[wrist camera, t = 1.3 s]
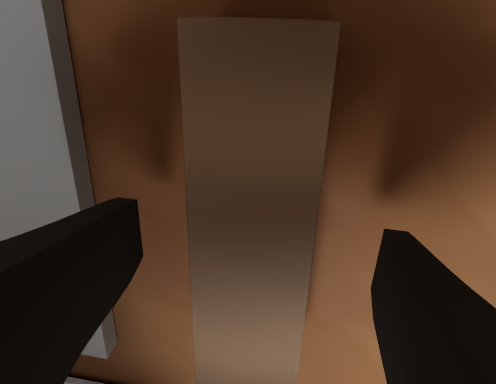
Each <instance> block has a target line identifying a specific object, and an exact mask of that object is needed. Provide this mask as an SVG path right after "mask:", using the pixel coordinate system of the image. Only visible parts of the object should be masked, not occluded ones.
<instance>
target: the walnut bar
mask: <svg viewBox="0 0 496 384" xmlns="http://www.w3.org/2000/svg"><path fill="white" fill-rule="evenodd" d="M340 28H341V22H339V21H336V20H321V19H289V18H256V17H224V16H212V17H177V31H178V50H179V69H180V89H181V108H182V127H183V147H184V166H185V185H186V205H187V224H188V243H189V263H190V282H191V301H192V321H193V340H194V359H195V379H196V384H297V379H298V371H299V363H300V355H301V347H302V338H303V330H304V322H305V314H306V306H307V298H308V289H309V281H310V273H311V265H312V257H313V249H314V240H315V232H316V224H317V216H318V208H319V200H320V191H321V183H322V175H323V167H324V159H325V151H326V142H327V134H328V126H329V118H330V110H331V101H332V93H333V85H334V77H335V69H336V61H337V52H338V44H339V36H340Z"/></svg>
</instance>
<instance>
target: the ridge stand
mask: <svg viewBox="0 0 496 384" xmlns="http://www.w3.org/2000/svg"><path fill="white" fill-rule="evenodd" d="M92 206H95V202H94V196H93V190H92V184H91V178H90V172H89V166H88V159H87V153H86V147H85V141H84V135H83V129H82V123H81V117H80V111H79V104H78V98H77V92H76V86H75V80H74V74H73V68H72V62H71V55H70V49H69V43H68V37H67V31H66V25H65V19H64V13H63V6H62V0H0V241H2V240H5V239H8V238H11V237H14V236H17V235H20V234H23V233H25V232H28V231H31V230H33V229H36V228H39V227H41V226H44V225H47V224H50V223H52V222H55V221H57V220H60V219H62V218H65V217H67V216H70V215H72V214H75V213H77V212H80V211H82V210H85V209H87V208H89V207H92ZM116 344H117V337H116V331H115V325H114V319H113V312H112V309H111V311H110V312H109V314H108V315H107V317H106V318H105V319H104V321H103V322H102V324H101V325H100V326H99V328H98V329H97V331H96V332H95V334H94V335H93V336H92V338H91V339H90V341H89V342H88V344H87V345H86V347H85V348H84V350H83V351H82V353H81V354H82V355H87V356H93V357H98V358H104V359H108V357H109V356H110V354H111V352H112V351H113V349H114V347H115V346H116Z"/></svg>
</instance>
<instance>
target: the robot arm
mask: <svg viewBox="0 0 496 384" xmlns="http://www.w3.org/2000/svg"><path fill="white" fill-rule="evenodd" d="M142 257H143V249H142V240H141V231H140V222H139V213H138V203H137V200H135V199H126V198H115V199H111V200H108V201H105V202H102V203H100V204H97V205H95V206H92V207H89V208H87V209H85V210H82V211H80V212H77V213H75V214H72V215H70V216H67V217H65V218H62V219H60V220H57V221H55V222H52V223H50V224H47V225H44V226H41V227H39V228H36V229H33V230H31V231H28V232H25V233H23V234H20V235H17V236H14V237H11V238H8V239H5V240H2V241H0V384H104V383H99V382H94V381H88V380H83V379H78V378H73V377H68V375H69V374H70V372H71V370H72V368H73V366H74V365H75V363H76V361H77V359H78V358H79V356H80V354H81V353H82V351H83V350H84V348H85V347H86V345H87V344H88V342H89V341H90V339H91V338H92V336H93V335H94V334H95V332H96V331H97V329H98V328H99V326H100V325H101V324H102V322H103V321H104V319H105V318H106V317H107V315H108V314H109V312H110V311H111V309H112V308H113V307H114V305H115V304H116V302H117V301H118V299H119V298H120V296H121V295H122V294H123V292H124V291H125V289H126V288H127V286H128V285H129V283H130V281H131V279H132V278H133V276H134V274H135V272H136V270H137V268H138V266H139V264H140V261H141V259H142ZM371 297H372V310H373V321H374V325H375V330H376V335H377V340H378V344H379V349H380V354H381V358H382V363H383V367H384V372H385V376H386V381H387V384H496V308H495V307H493V306H492V305H491V304H490V303H488V302H487V301H486V300H485V299H483V298H482V297H481V296H480V295H478V294H477V293H476V292H475V291H473V290H472V289H471V288H470V287H469V286H467V285H466V284H465V283H464V282H463V281H462V280H460V279H459V278H458V277H457V276H456V275H455V274H454V273H452V272H451V271H450V270H449V269H448V268H447V267H446V266H445V265H444V264H443V263H441V262H440V261H439V260H438V259H437V258H436V257H435V256H434V255H433V254H432V253H431V252H430V251H429V250H428V249H427V248H425V247H424V246H423V245H422V244H421V243H420V242H419V241H418V240H417V239H416V238H415V237H414V236H412V235H411V234H410V233H409V232H407V231H398V230H390V229H384V233H383V237H382V241H381V246H380V250H379V254H378V259H377V263H376V267H375V272H374V276H373V281H372V285H371Z"/></svg>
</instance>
